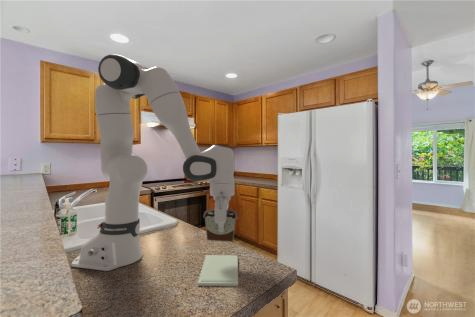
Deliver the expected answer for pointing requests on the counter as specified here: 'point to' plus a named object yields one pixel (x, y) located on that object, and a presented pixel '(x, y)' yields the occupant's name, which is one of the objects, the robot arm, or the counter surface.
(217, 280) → the cutting board
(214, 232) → the food container
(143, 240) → the counter surface
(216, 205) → the robot arm
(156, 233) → the counter surface
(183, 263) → the counter surface
